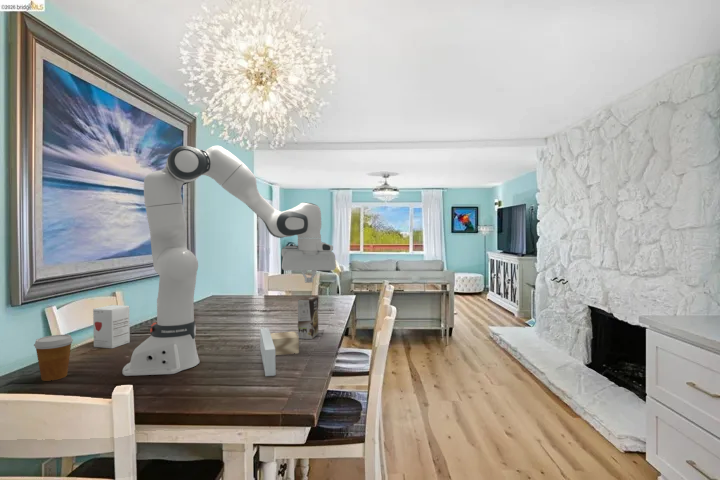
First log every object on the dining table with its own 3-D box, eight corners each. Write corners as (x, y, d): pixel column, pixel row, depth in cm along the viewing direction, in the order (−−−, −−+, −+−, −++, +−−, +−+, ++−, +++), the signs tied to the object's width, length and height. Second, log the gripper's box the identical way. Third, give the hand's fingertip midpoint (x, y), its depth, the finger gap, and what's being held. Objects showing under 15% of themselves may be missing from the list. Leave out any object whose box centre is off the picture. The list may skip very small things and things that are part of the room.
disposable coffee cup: (28, 384, 118) (27, 343, 118) (43, 373, 127) (42, 335, 127) (66, 381, 120) (65, 340, 120) (78, 370, 130) (78, 333, 129)
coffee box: (312, 339, 166) (312, 299, 166) (297, 338, 167) (297, 299, 167) (319, 333, 175) (318, 296, 175) (304, 333, 176) (304, 296, 176)
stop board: (265, 376, 123) (265, 350, 123) (260, 349, 152) (260, 328, 152) (275, 375, 124) (275, 349, 124) (268, 348, 153) (268, 327, 153)
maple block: (270, 356, 144) (270, 339, 144) (268, 349, 153) (268, 333, 153) (298, 353, 147) (298, 337, 147) (295, 347, 156) (295, 331, 156)
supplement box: (92, 347, 157) (91, 308, 156) (112, 341, 165) (111, 304, 165) (112, 348, 154) (111, 309, 154) (130, 342, 163) (130, 305, 163)
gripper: (282, 245, 148) (281, 283, 148) (337, 246, 154) (336, 282, 154) (280, 245, 154) (280, 281, 154) (333, 246, 160) (332, 281, 160)
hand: (308, 282), depth 154 cm, fingers closed
